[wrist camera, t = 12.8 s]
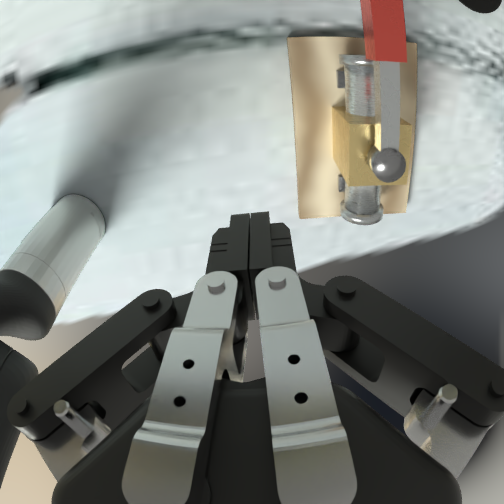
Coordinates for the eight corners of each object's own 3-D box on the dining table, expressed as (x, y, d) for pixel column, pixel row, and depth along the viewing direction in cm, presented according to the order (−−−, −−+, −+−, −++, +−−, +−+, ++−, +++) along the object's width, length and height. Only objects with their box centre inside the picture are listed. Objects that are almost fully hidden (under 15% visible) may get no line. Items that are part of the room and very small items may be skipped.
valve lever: (395, 171, 29) (405, 182, 27) (365, 172, 29) (373, 184, 27) (392, -2, 19) (404, -5, 17) (357, -5, 19) (366, -9, 17)
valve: (332, 203, 41) (345, 239, 34) (328, 53, 29) (347, 57, 23) (378, 201, 40) (399, 235, 34) (383, 55, 29) (413, 62, 23)
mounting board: (298, 213, 44) (299, 219, 42) (286, 37, 30) (287, 37, 29) (401, 207, 42) (405, 212, 41) (411, 42, 29) (416, 43, 27)
